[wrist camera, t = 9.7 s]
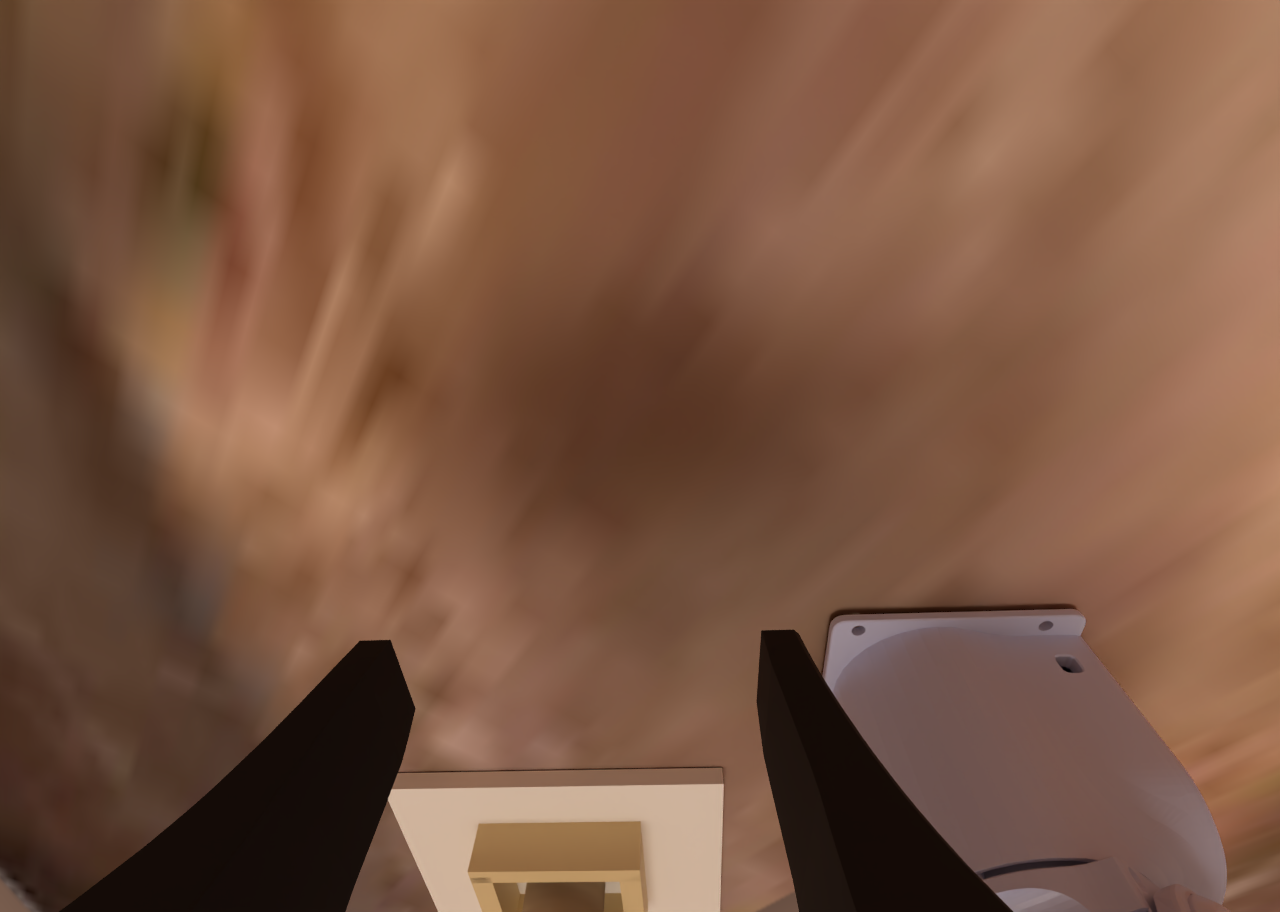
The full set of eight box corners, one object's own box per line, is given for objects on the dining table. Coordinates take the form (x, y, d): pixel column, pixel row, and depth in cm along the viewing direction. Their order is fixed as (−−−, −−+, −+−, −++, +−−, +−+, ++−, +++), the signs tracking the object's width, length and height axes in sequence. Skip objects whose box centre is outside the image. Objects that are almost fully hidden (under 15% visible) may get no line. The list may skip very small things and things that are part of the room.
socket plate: (721, 767, 29) (728, 833, 27) (718, 911, 36) (723, 974, 34) (389, 773, 30) (364, 837, 27) (449, 913, 37) (434, 974, 34)
